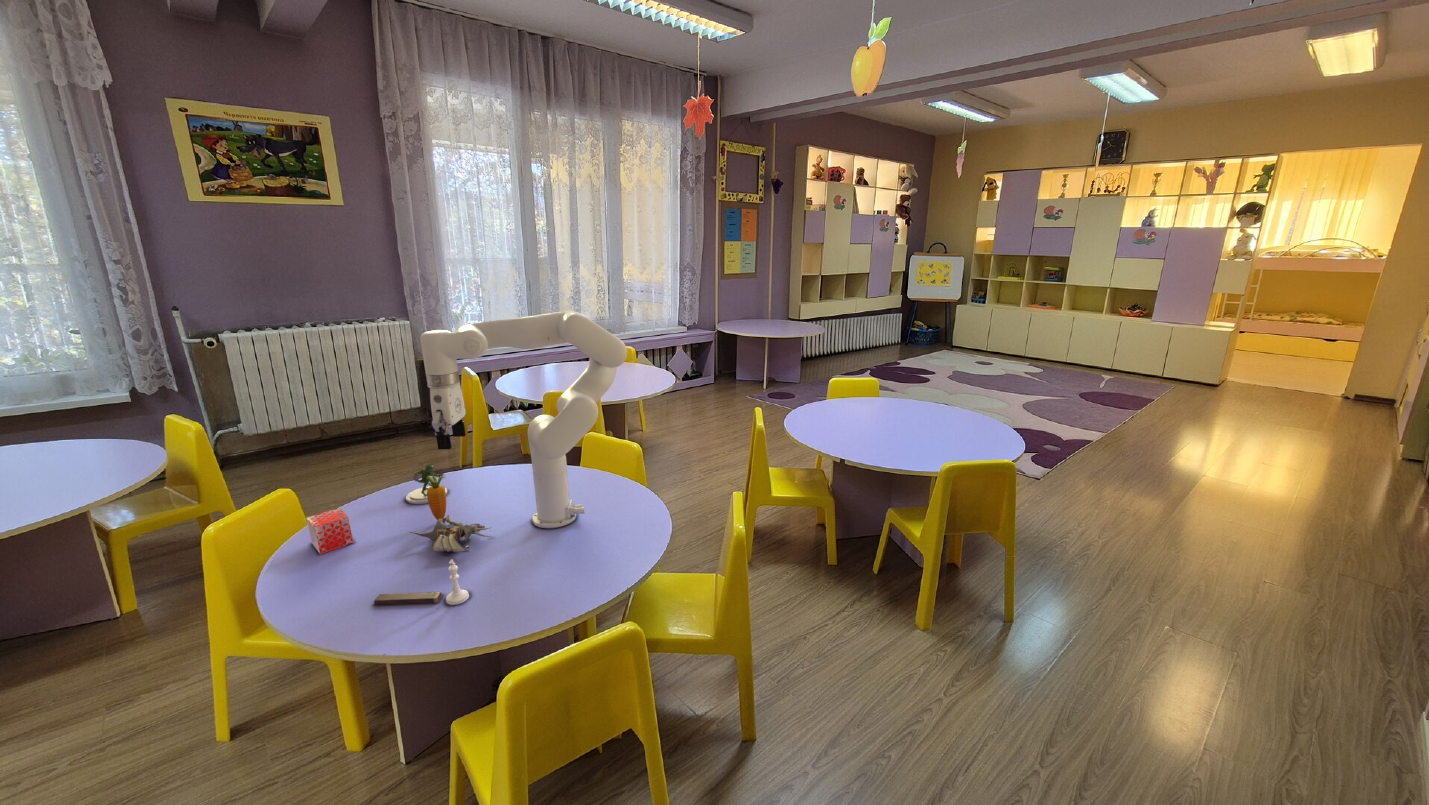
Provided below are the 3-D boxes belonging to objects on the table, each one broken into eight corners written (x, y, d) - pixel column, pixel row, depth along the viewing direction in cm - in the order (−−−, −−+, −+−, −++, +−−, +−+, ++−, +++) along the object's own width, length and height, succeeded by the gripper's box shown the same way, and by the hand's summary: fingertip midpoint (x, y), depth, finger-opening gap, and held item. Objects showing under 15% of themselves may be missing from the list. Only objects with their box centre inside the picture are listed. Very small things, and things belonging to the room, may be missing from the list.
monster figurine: (455, 489, 189) (451, 460, 186) (430, 505, 177) (425, 475, 174) (424, 486, 191) (419, 458, 188) (397, 502, 180) (392, 472, 177)
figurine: (487, 507, 164) (495, 534, 149) (488, 526, 165) (496, 554, 151) (408, 519, 155) (409, 548, 140) (410, 539, 156) (411, 570, 142)
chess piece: (454, 607, 128) (448, 568, 125) (441, 600, 130) (435, 562, 128) (473, 596, 132) (468, 558, 129) (460, 589, 134) (454, 552, 132)
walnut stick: (442, 595, 132) (441, 591, 132) (437, 602, 130) (436, 597, 129) (380, 598, 131) (379, 593, 131) (374, 605, 129) (373, 600, 129)
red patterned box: (353, 542, 156) (348, 516, 154) (320, 554, 150) (314, 527, 148) (344, 533, 161) (339, 507, 159) (312, 543, 156) (306, 517, 154)
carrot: (453, 518, 169) (446, 472, 165) (444, 527, 164) (436, 479, 160) (437, 518, 169) (430, 471, 165) (428, 526, 164) (420, 478, 160)
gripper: (444, 387, 137) (454, 454, 142) (470, 371, 153) (478, 431, 158) (412, 388, 136) (423, 454, 141) (442, 372, 153) (450, 432, 158)
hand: (452, 442), depth 150 cm, fingers open, 9 cm apart
